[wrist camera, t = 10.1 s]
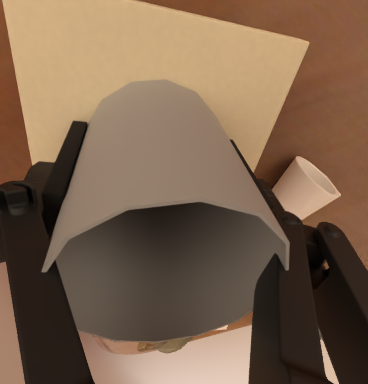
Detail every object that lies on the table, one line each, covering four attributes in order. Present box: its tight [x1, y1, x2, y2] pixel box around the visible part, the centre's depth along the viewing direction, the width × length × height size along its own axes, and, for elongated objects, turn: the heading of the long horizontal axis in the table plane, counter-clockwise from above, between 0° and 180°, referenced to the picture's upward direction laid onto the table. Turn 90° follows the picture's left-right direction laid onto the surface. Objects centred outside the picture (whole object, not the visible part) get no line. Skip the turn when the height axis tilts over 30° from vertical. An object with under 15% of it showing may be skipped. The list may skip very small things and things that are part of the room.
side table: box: [2, 0, 309, 173], centre depth 20 cm, size 15×15×8 cm
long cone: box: [272, 156, 341, 220], centre depth 33 cm, size 6×6×19 cm
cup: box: [41, 80, 290, 343], centre depth 13 cm, size 8×8×10 cm
